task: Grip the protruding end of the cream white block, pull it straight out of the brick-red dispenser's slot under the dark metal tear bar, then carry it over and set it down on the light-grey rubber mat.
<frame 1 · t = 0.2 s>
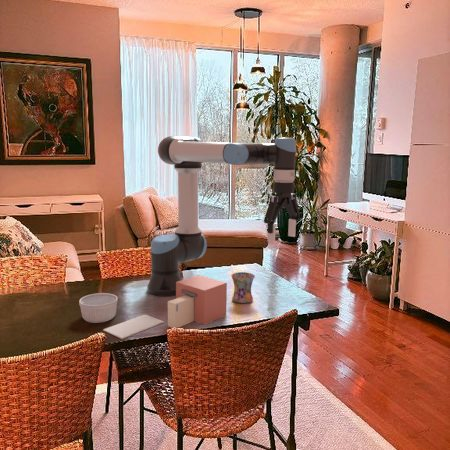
hand: (281, 239, 166), 28 cm above the table, fingers open, 13 cm apart
dispenser: (201, 314, 165), on the table
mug: (241, 300, 182), on the table
mat: (134, 326, 154), on the table
ramekin: (99, 317, 162), on the table
cream white block: (185, 321, 159), on the table
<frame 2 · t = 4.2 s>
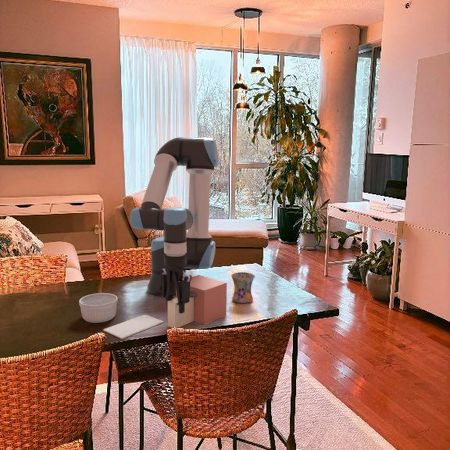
hand: (175, 319, 155), 2 cm above the table, fingers closed on cream white block, 4 cm apart
cream white block: (185, 321, 159), on the table, touching gripper
everything else where it was.
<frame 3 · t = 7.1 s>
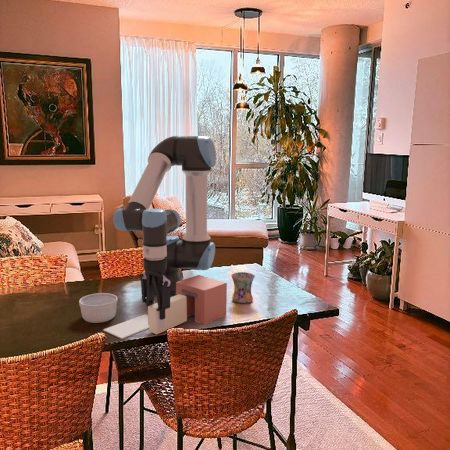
hand: (156, 325, 148), 3 cm above the table, fingers closed on cream white block, 3 cm apart
cream white block: (168, 326, 153), point 1 cm above the table, touching gripper
everything else where it was.
when the fingers open (4 cm above the table, at t = 10.2 s): cream white block drops 2 cm, resting on mat.
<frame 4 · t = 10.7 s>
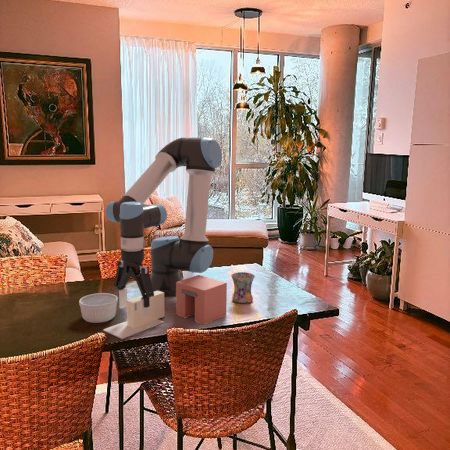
hand: (133, 311, 153), 5 cm above the table, fingers open, 11 cm apart
cream white block: (146, 320, 158), resting on mat
everything else where it was.
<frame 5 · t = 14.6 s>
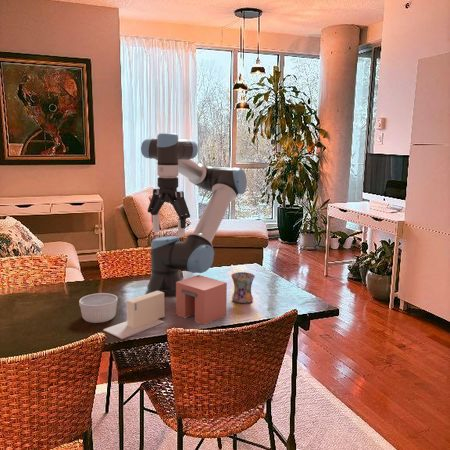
hand: (168, 234, 167), 29 cm above the table, fingers open, 13 cm apart
nothing on the table moved.
at the end: cream white block inside the target area on the mat (5.4 cm from its centre), point 0.4 cm above the mat's base; cream white block touching mat; the gripper is holding nothing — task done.
